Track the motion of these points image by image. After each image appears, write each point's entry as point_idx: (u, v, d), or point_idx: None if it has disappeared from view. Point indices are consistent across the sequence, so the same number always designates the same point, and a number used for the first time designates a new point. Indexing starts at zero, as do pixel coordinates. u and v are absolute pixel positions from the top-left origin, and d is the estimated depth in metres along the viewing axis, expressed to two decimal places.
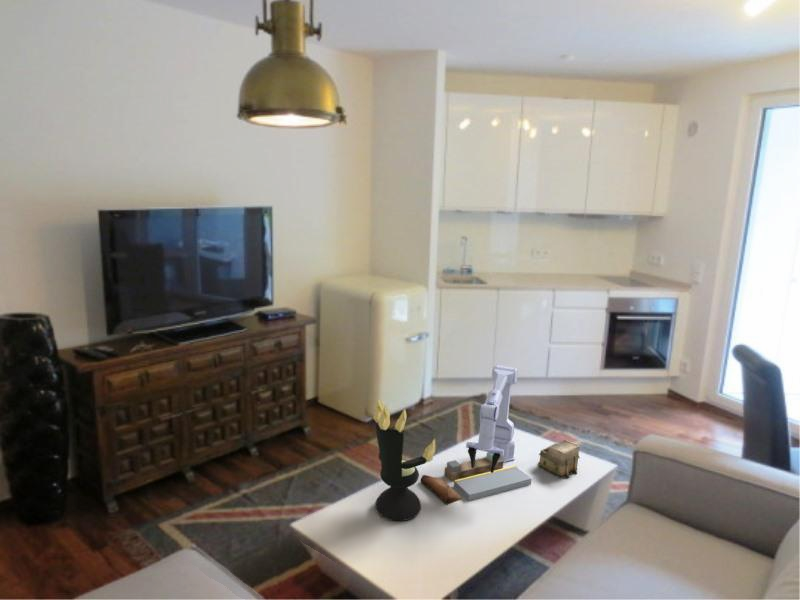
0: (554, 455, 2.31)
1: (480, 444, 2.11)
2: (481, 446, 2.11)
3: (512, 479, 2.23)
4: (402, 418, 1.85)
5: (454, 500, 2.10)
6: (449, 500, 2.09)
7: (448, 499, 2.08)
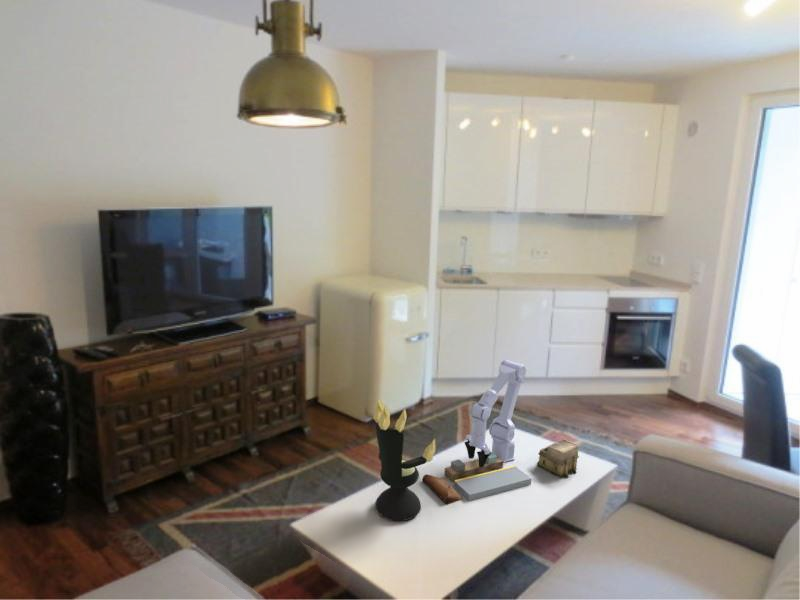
0: (553, 454, 2.32)
1: (471, 439, 2.30)
2: (471, 441, 2.30)
3: (512, 479, 2.23)
4: (402, 418, 1.85)
5: (454, 500, 2.10)
6: (449, 500, 2.09)
7: (448, 499, 2.08)
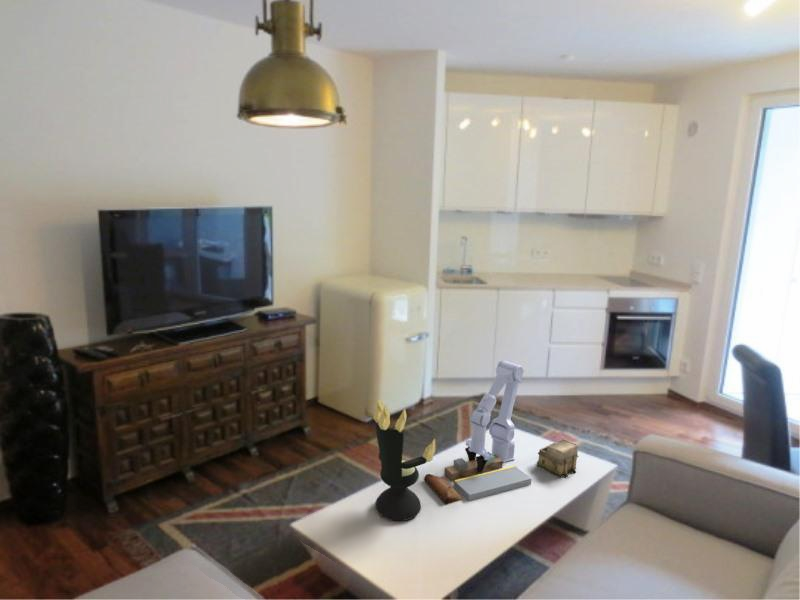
0: (553, 454, 2.32)
1: (470, 445, 2.31)
2: (470, 447, 2.30)
3: (512, 479, 2.23)
4: (402, 418, 1.85)
5: (454, 500, 2.10)
6: (449, 500, 2.09)
7: (448, 499, 2.08)
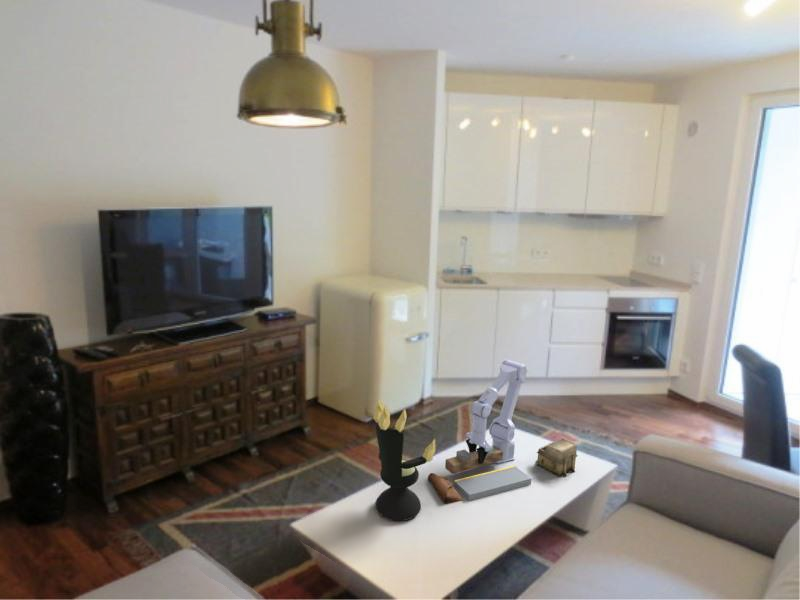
0: (552, 453, 2.33)
1: (471, 436, 2.30)
2: (471, 438, 2.29)
3: (512, 479, 2.23)
4: (402, 418, 1.85)
5: (453, 501, 2.10)
6: (448, 500, 2.09)
7: (447, 499, 2.08)
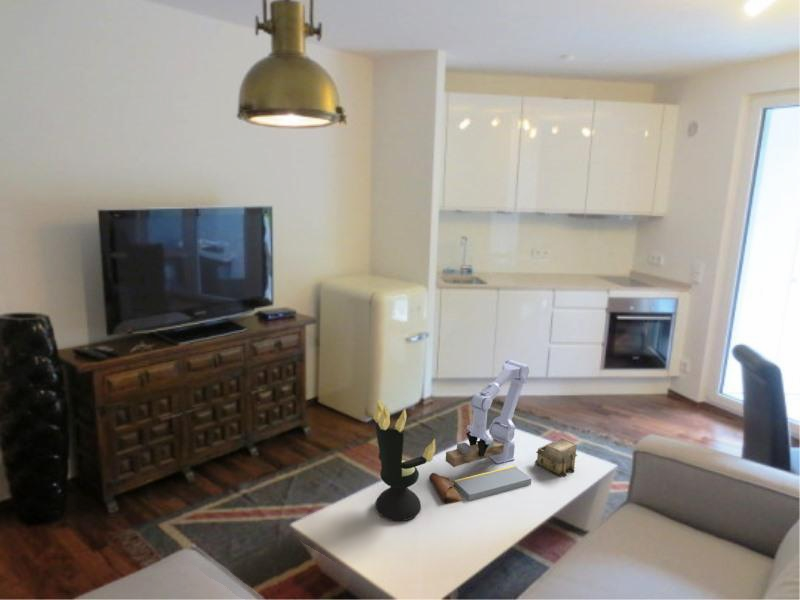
0: (551, 453, 2.33)
1: (472, 429, 2.29)
2: (472, 431, 2.29)
3: (512, 479, 2.23)
4: (402, 418, 1.85)
5: (453, 501, 2.09)
6: (447, 500, 2.09)
7: (446, 499, 2.08)
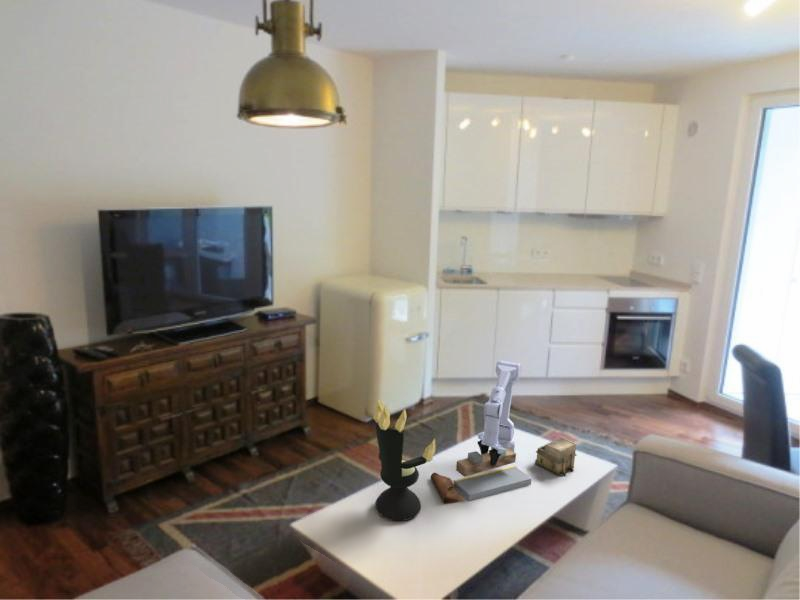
0: (551, 453, 2.33)
1: (483, 438, 2.22)
2: (483, 440, 2.21)
3: (512, 479, 2.23)
4: (402, 418, 1.85)
5: (453, 501, 2.09)
6: (448, 500, 2.09)
7: (446, 499, 2.08)
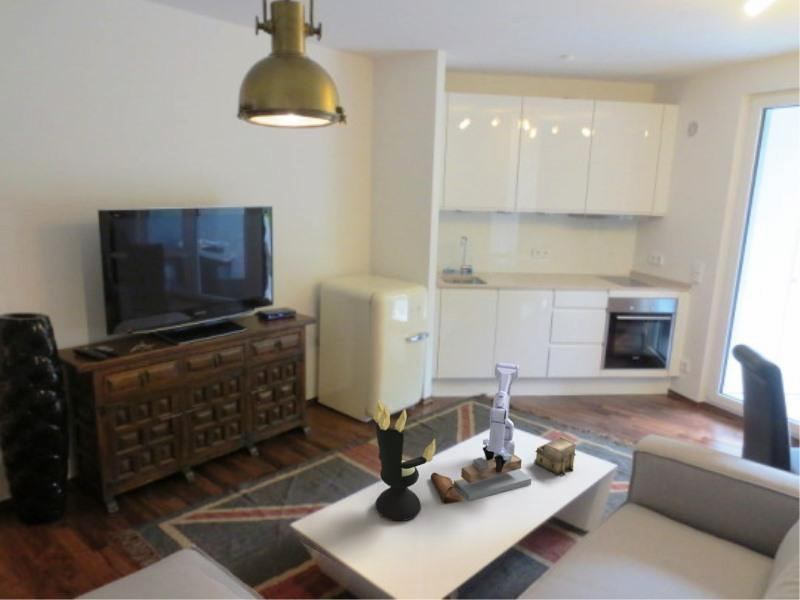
0: (550, 452, 2.34)
1: (488, 444, 2.19)
2: (489, 446, 2.18)
3: (512, 479, 2.23)
4: (402, 418, 1.85)
5: (453, 501, 2.09)
6: (447, 500, 2.09)
7: (446, 499, 2.08)
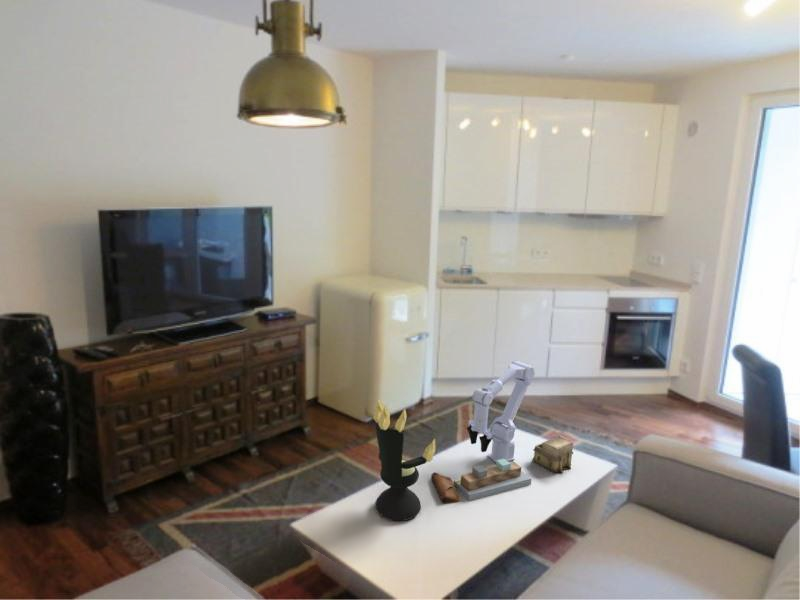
0: (548, 450, 2.35)
1: (473, 424, 2.31)
2: (473, 426, 2.31)
3: (512, 479, 2.23)
4: (402, 418, 1.85)
5: (452, 501, 2.09)
6: (446, 500, 2.09)
7: (445, 498, 2.08)
